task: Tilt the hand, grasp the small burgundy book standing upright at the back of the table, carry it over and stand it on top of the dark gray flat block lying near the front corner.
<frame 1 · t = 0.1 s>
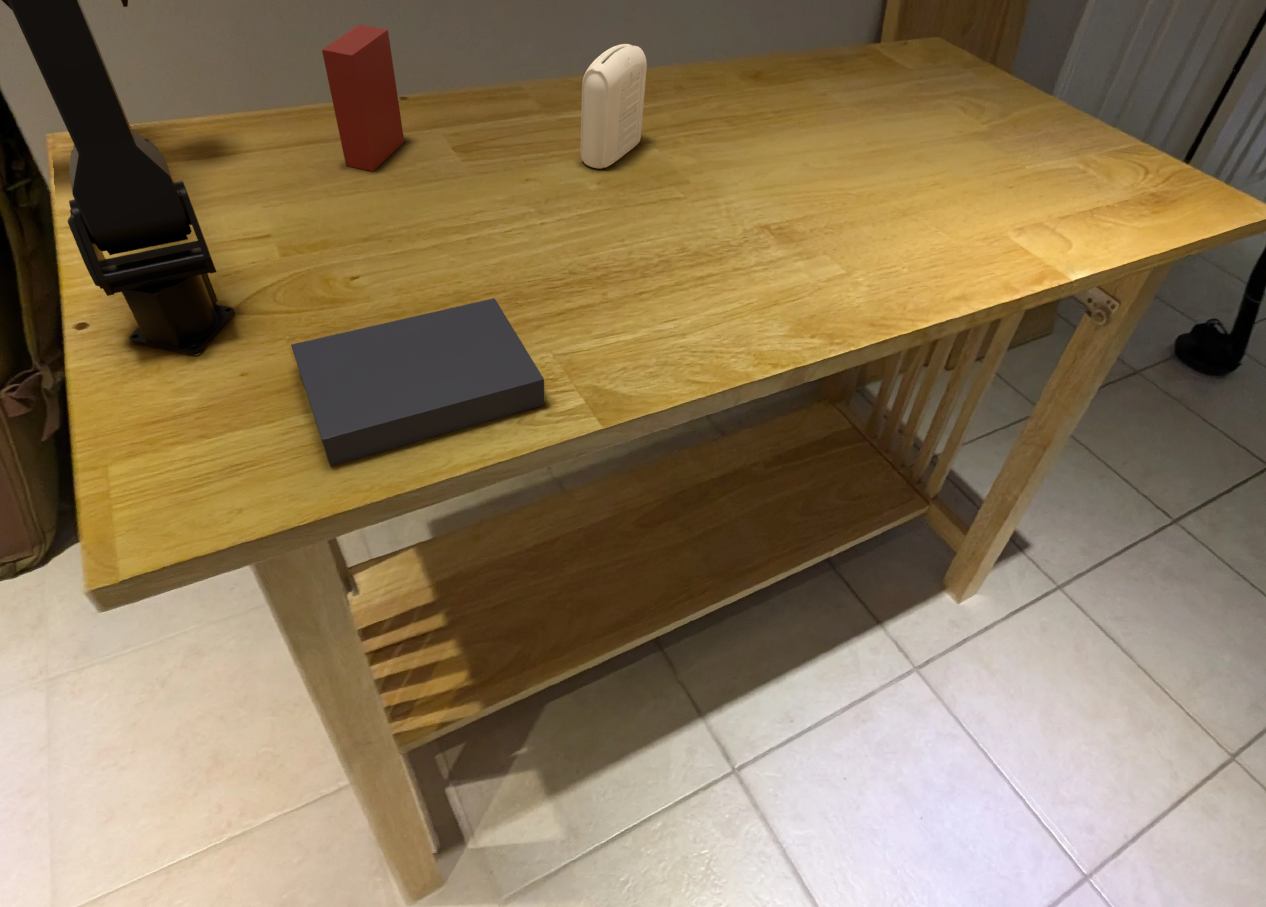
hand: (73, 9, 79), 15 cm above the table, tool pointing down, fingers open, 9 cm apart
photo printer: (611, 154, 99), on the table
dark gray flat block: (421, 388, 68), on the table
small book: (375, 153, 95), on the table
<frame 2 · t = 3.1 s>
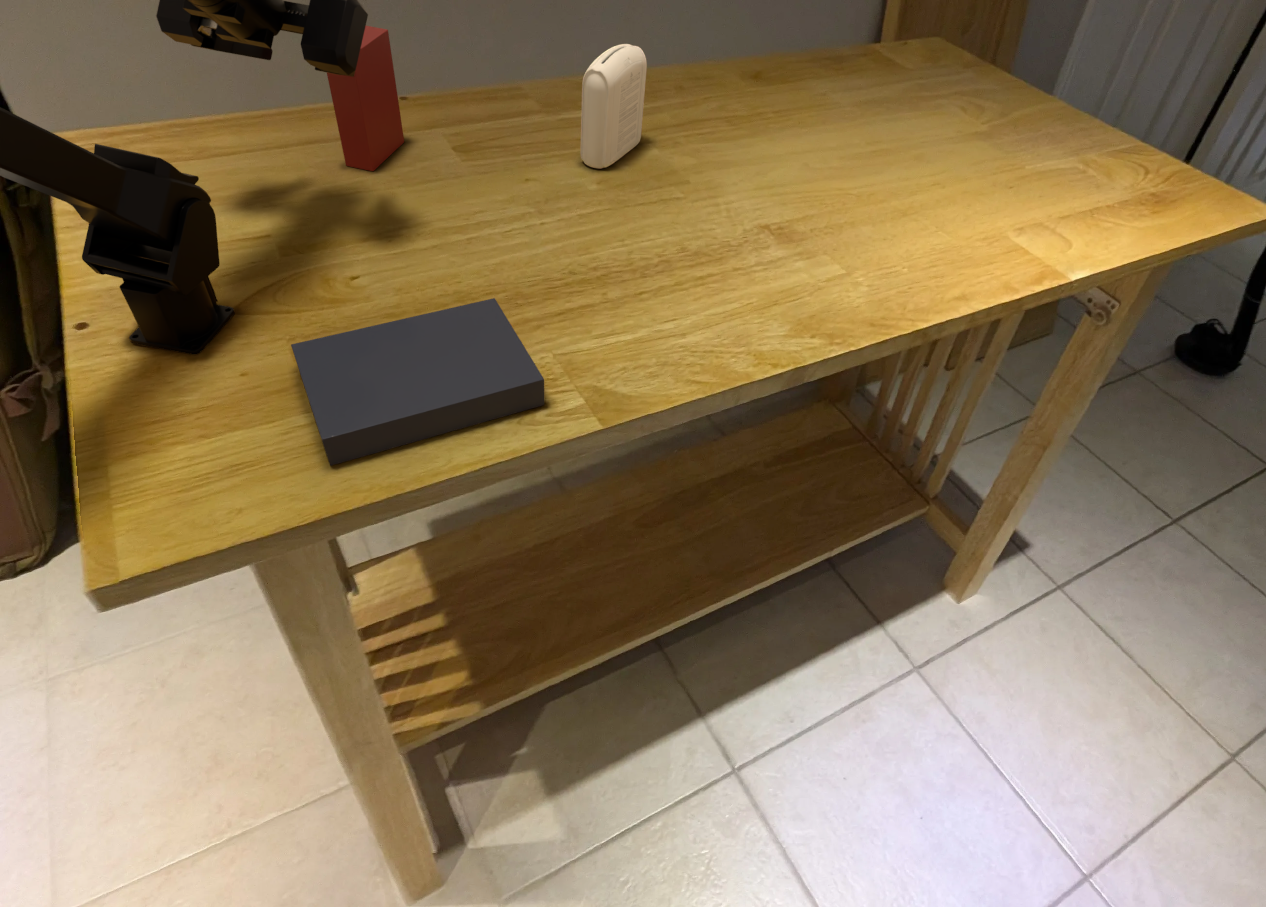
hand: (311, 63, 79), 14 cm above the table, tool tilted 45°, fingers open, 9 cm apart
nothing on the table moved.
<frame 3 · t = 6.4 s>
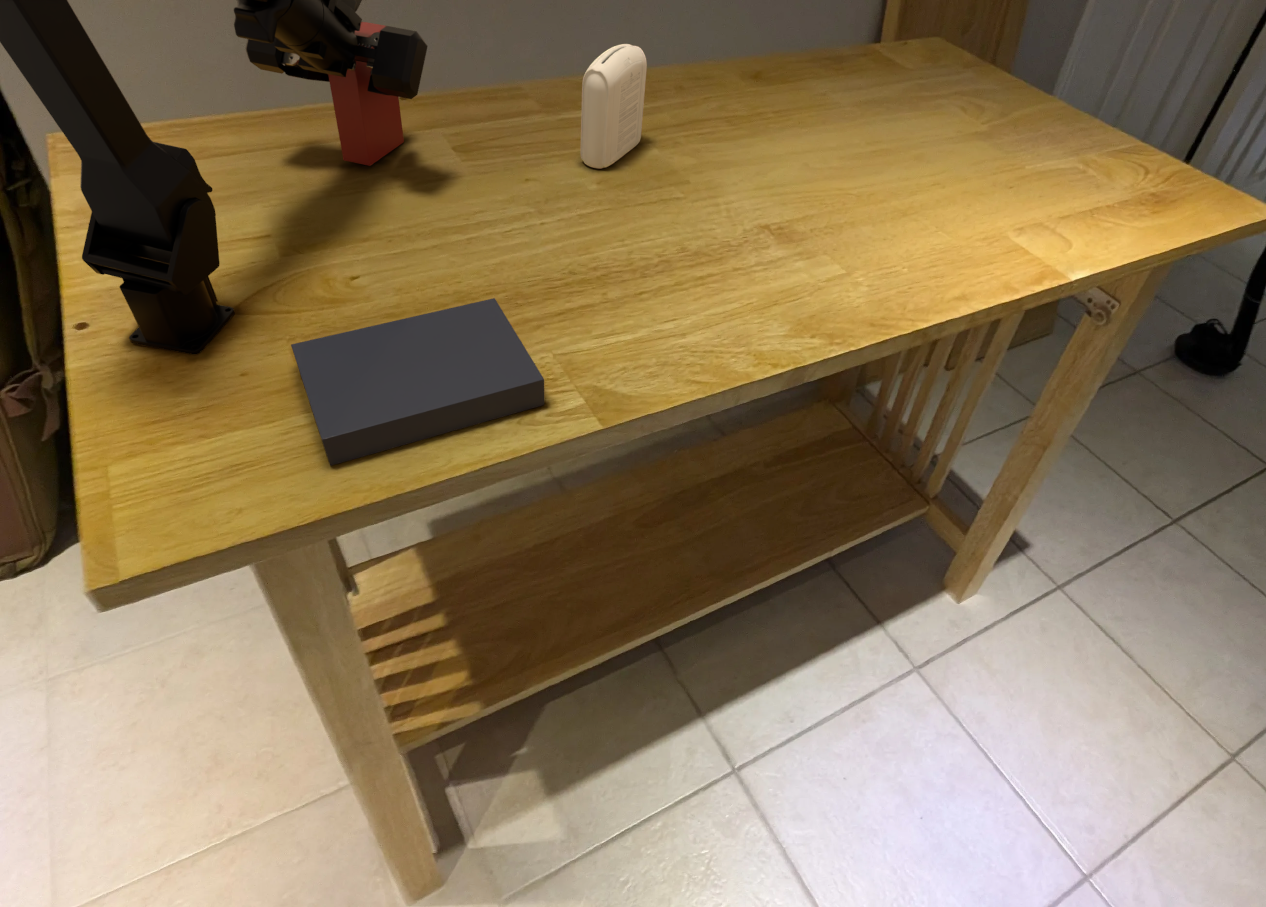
hand: (373, 84, 91), 8 cm above the table, tool tilted 45°, fingers closed on small book, 6 cm apart
small book: (374, 151, 95), on the table, touching gripper
everything else where it was.
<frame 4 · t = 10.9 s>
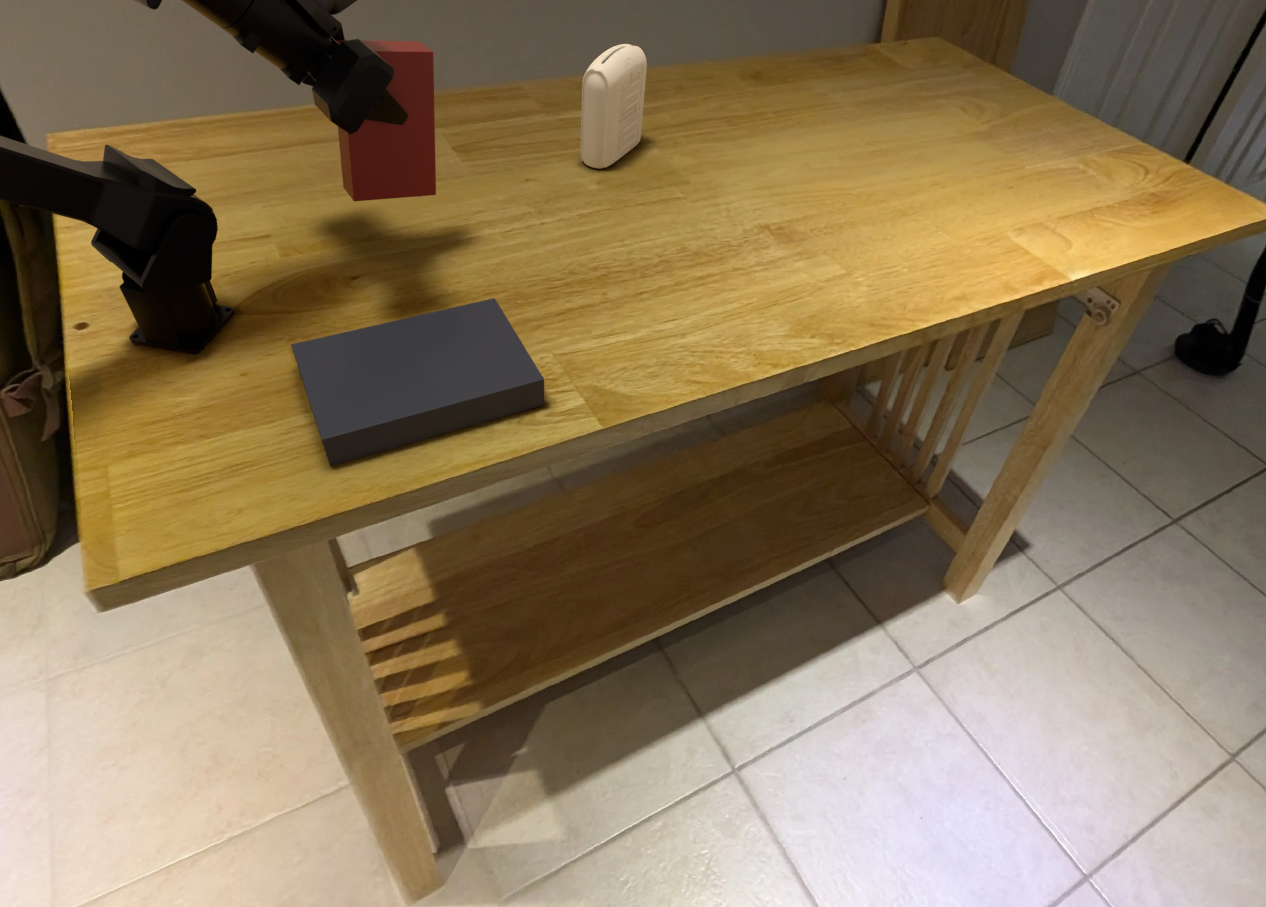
hand: (395, 111, 73), 14 cm above the table, tool tilted 45°, fingers closed on small book, 4 cm apart
small book: (390, 191, 77), point 7 cm above the table, tilted 9°, touching gripper
everything else where it was.
when the fingers open (11 cm above the table, at t = 16.0 s): small book stays where it is, resting on dark gray flat block.
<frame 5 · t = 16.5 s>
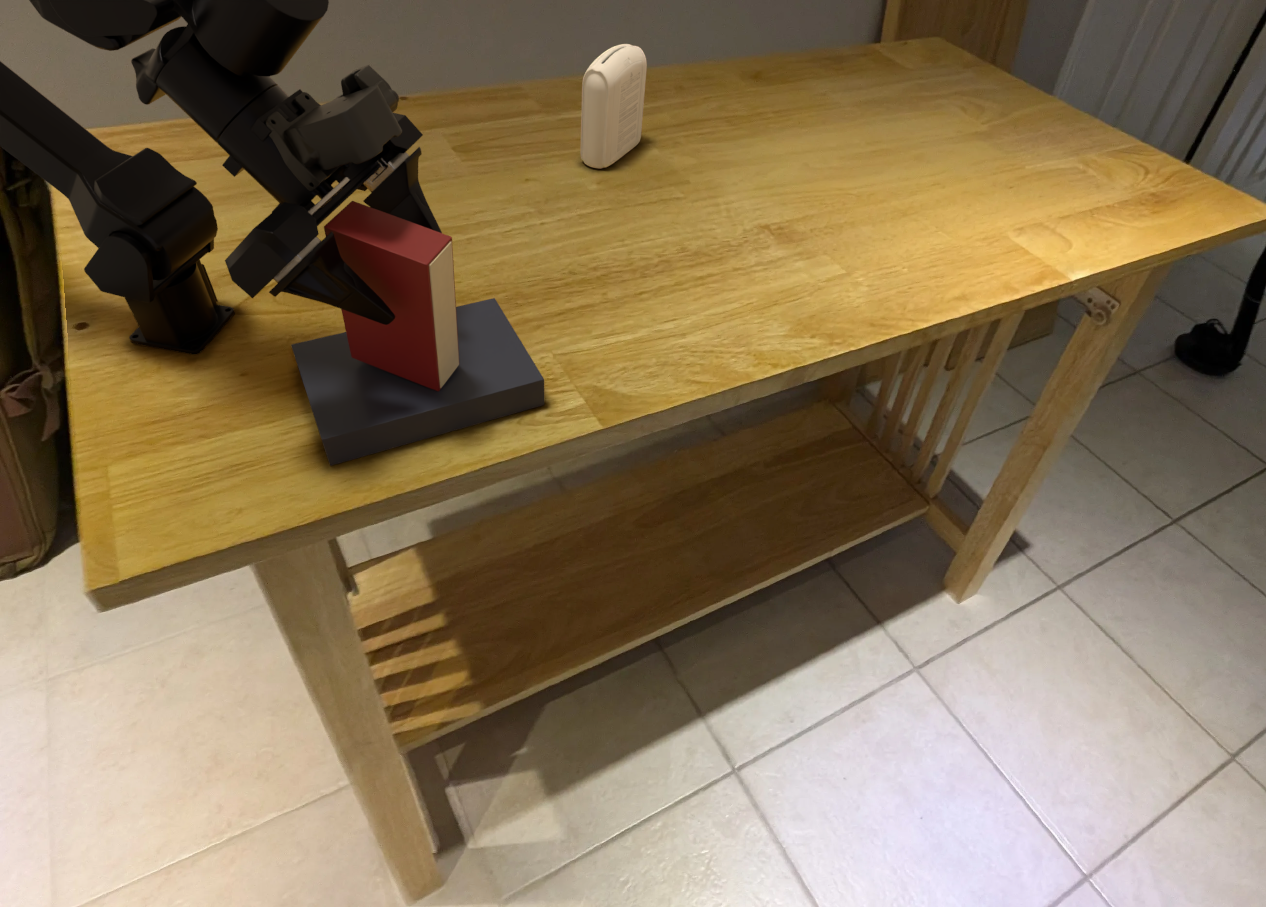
hand: (420, 286, 60), 11 cm above the table, tool tilted 45°, fingers open, 9 cm apart
dark gray flat block: (421, 388, 68), on the table, touching small book
small book: (406, 360, 65), point 3 cm above the table, tilted 6°, touching dark gray flat block, gripper
everything else where it was.
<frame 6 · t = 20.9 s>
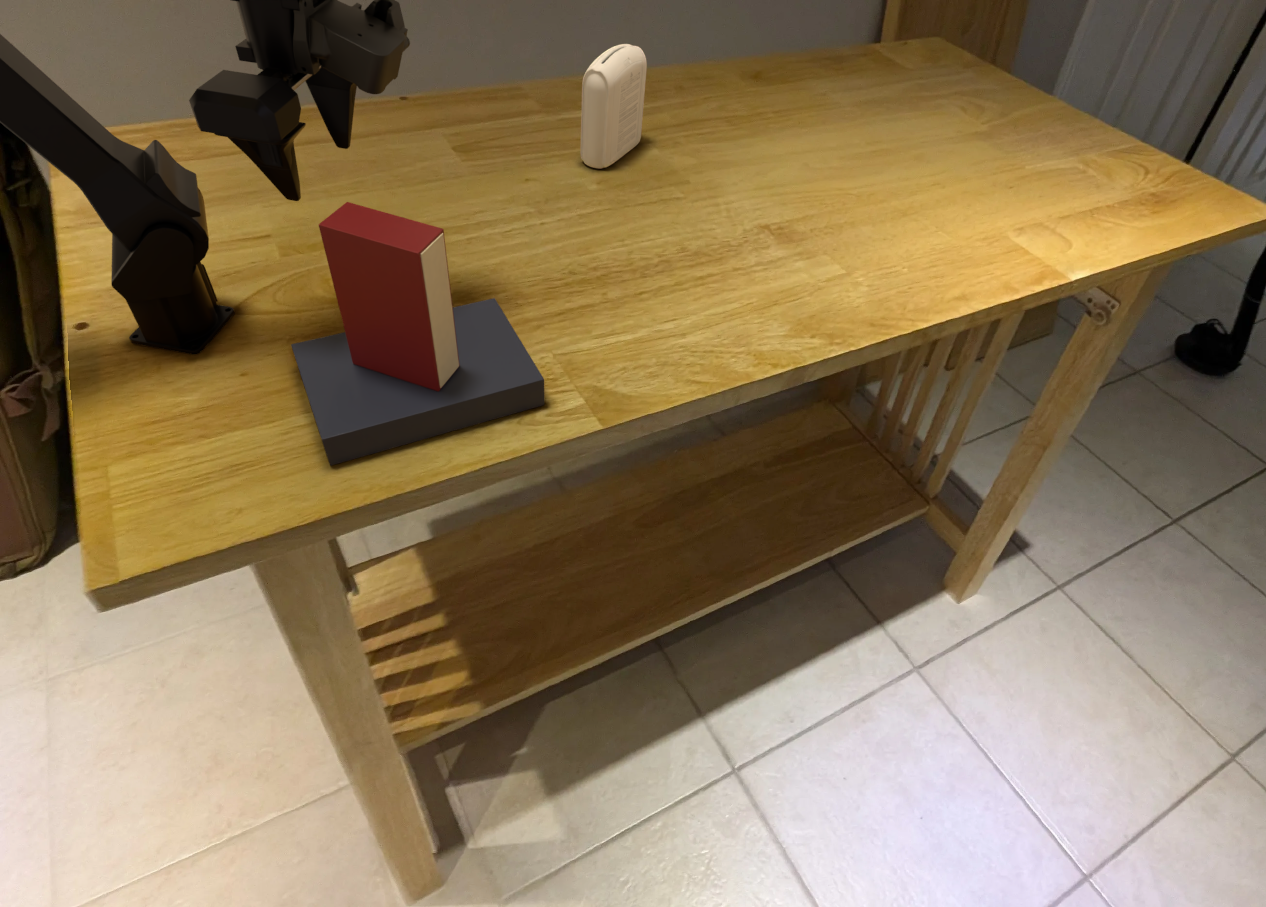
hand: (319, 172, 66), 13 cm above the table, tool pointing down, fingers open, 9 cm apart
small book: (406, 365, 66), point 3 cm above the table, touching dark gray flat block
everything else where it was.
at the end: small book inside the target area on the dark gray flat block (0.8 cm from its centre), point 3.0 cm above the dark gray flat block's base; small book tilted 0° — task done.
